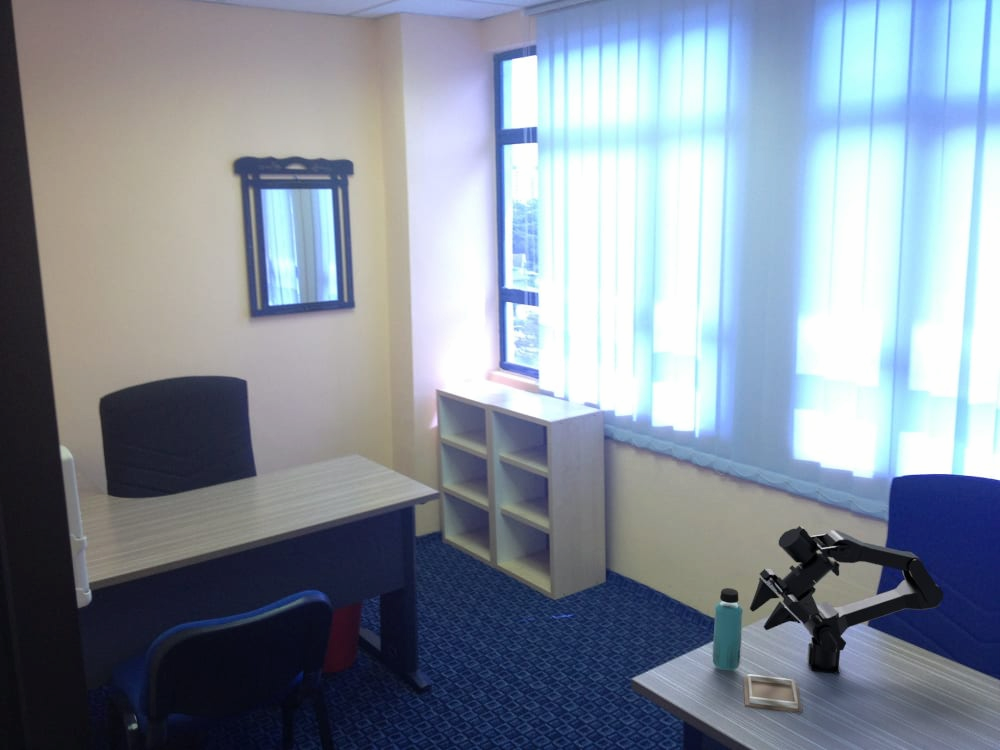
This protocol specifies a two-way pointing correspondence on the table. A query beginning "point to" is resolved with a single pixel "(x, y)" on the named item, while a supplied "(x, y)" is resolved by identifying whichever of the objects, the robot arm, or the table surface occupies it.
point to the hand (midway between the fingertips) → (757, 619)
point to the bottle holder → (772, 693)
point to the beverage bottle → (727, 631)
